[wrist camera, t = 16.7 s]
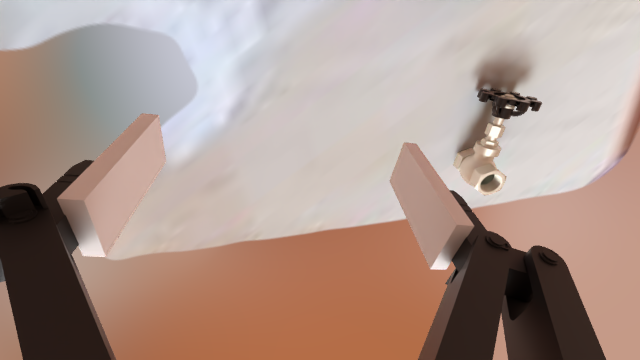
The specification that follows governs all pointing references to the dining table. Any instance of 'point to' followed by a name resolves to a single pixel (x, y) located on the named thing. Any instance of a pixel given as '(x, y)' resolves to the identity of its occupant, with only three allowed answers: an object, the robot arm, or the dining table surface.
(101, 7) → the dining table surface
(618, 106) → the dining table surface
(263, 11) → the dining table surface
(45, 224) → the robot arm
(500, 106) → the valve
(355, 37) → the dining table surface
